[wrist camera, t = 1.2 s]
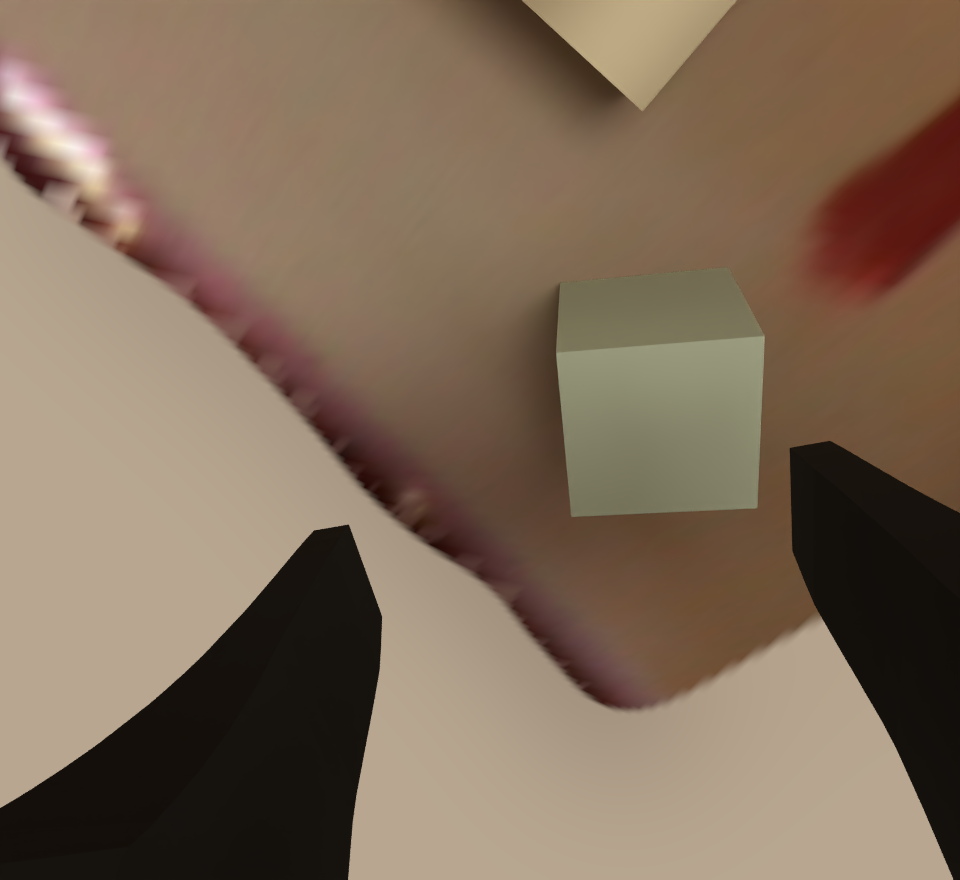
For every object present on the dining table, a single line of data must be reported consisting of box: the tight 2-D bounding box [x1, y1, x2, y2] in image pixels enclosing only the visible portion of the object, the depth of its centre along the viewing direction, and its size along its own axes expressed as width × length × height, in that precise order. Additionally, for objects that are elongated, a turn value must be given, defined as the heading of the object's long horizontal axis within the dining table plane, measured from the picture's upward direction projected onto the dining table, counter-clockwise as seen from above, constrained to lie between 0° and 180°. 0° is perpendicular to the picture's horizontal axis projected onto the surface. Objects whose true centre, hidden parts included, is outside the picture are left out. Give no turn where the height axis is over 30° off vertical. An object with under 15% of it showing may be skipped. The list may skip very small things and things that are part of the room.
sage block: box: [556, 267, 765, 517], centre depth 21 cm, size 5×5×5 cm
